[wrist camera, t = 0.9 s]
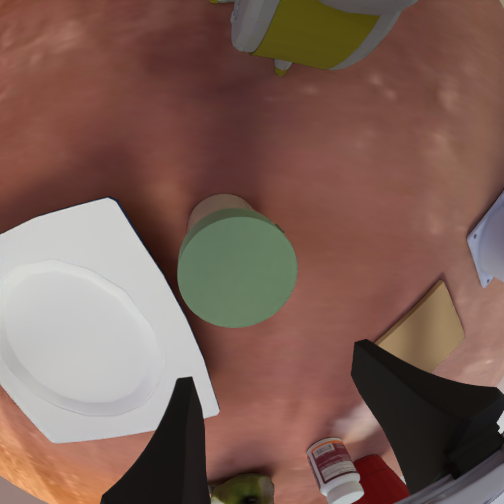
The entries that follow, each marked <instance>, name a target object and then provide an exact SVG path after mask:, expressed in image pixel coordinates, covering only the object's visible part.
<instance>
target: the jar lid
mask: <svg viewBox="0 0 504 504" xmlns="http://www.w3.org/2000/svg"><path fill="white" fill-rule="evenodd" d="M284 233H285V232H284V231H283V230H282V229H281V228H280V227H279V226H278V225H277V224H274V223H273V222H272V221H271V220H270V219H268V218H267V217H265V216H264V215H262V214H260V213H258V212H255V211H253V210H249V209H245V208H227V209H222V210H218V211H215V212H213V213H211V214H208V215H207V216H205V217H203V218H202V219H200V220H199V221H198V222H197V223H196V224H195V225H194V226H193V227H192V228H191V229H190V230H189V232H188V233H187V234H186V236H185V238H184V240H183V242H182V245H181V248H180V252H179V260H178V270H177V280H178V286H179V290H180V293H181V295H182V298H183V299H184V301H185V303H186V304H187V306H188V307H189V308H190V309H191V310H192V311H193V312H194V313H195V314H196V315H197V316H199V317H200V318H201V319H203V320H205V321H207V322H209V323H212V324H214V325H218V326H221V327H228V328H239V327H246V326H251V325H254V324H257V323H260V322H262V321H264V320H266V319H268V318H269V317H271V316H272V315H274V314H275V313H276V312H277V311H278V310H279V309H280V308H282V306H283V305H284V304H285V303H286V302H287V300H288V299H289V297H290V295H291V293H292V291H293V289H294V286H295V283H296V279H297V270H298V267H297V259H296V254H295V252H294V249H293V247H292V245H291V243H290V241H289V240H288V239H287V237H286V236H285V235H284Z"/></svg>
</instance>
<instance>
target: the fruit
mask: <svg viewBox="0 0 504 504" xmlns="http://www.w3.org/2000/svg"><path fill="white" fill-rule="evenodd" d="M208 488H209V493H211V494H212V495H211V498H210V499H211V504H274V497H273V496H274V484H273V483H272V481H271V478H270V477H269V476H267V475H265V474H260V473H245V474H239V475H238V476H236V477H233V478H231V479H230V480H228V481H226V482H225V483H223V484H220V485H216V486H211V485H208Z"/></svg>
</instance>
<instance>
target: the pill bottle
mask: <svg viewBox="0 0 504 504" xmlns="http://www.w3.org/2000/svg"><path fill="white" fill-rule="evenodd" d="M306 456H307V459H308V462H309V464H310V466H311V469H312V471H313V474H314V477H315V479H316V482H317V485H318V487H319V490H320V492H321V493H322V494H323V495H325V496H327V497H326V498H327V501H328V503H329V504H351V503H353V502H355V501H357V500H358V499H360V498H361V497H362V496H363V494H364V491H363V489H362V486H361V485H360V483H358V482H359V480H360V475H359V473H358V471H357V469H356V467H355V466H354V464H353V462H352V460H351V457H350V456H349V453H348V452H347V450H346V448H345V446H344V444H343V442H342V440H341V439H339V438H326V439H323V440H320V441H318V442H317V443H315V444H314V445H312V446H311V447H310V448H309V449H308V451H307V453H306Z"/></svg>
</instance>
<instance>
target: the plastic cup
mask: <svg viewBox="0 0 504 504" xmlns="http://www.w3.org/2000/svg"><path fill="white" fill-rule="evenodd" d="M353 464H354V466H355V467H356V469H357V471H358V473H359V475H360V480H359V482H358V483H360V485H361V486H362V489H363V491H364V494H363V496H362V497H361V498H360V499H358V500H357V501H355V502H353V503H351V504H394V503H396V502H398V501H400V500H402V499H405V498H407V497H409V496H410V495H409V491H408V488H407V486H406V485H405V483H404V482H403V481H402V480H401V479H400V478H399V477H398V476H397V474H396V473H395V472H394V471H393V470H392V469H391V468H389V466H388V465H387V464H386V463H385V462H384V461H383V459H382V458H380V457H379V456H378V455H370V456H366V457H364V458H362V459H359V460H358V461H356V462H354V463H353Z"/></svg>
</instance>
